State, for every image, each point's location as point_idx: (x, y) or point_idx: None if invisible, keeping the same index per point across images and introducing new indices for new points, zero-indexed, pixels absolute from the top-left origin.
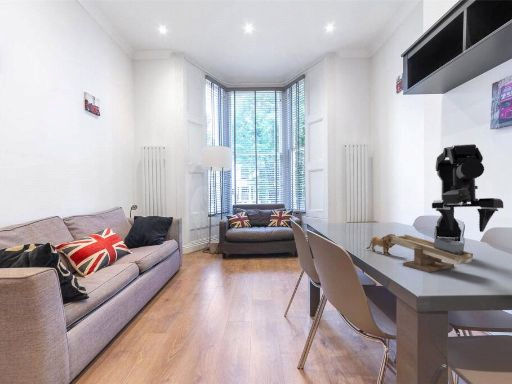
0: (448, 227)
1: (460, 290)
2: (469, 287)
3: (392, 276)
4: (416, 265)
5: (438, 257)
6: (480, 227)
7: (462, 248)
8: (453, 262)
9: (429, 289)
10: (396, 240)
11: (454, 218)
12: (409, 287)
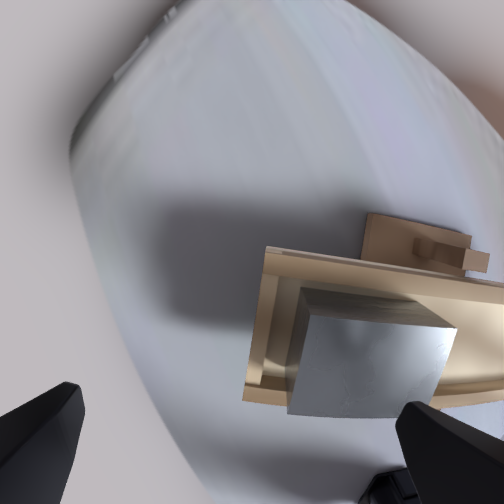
0: (436, 410)
1: (178, 68)
2: (169, 127)
3: (404, 52)
4: (428, 234)
5: (372, 262)
6: (44, 403)
7: (289, 382)
8: (287, 249)
9: (252, 5)
10: None
11: None
12: None
